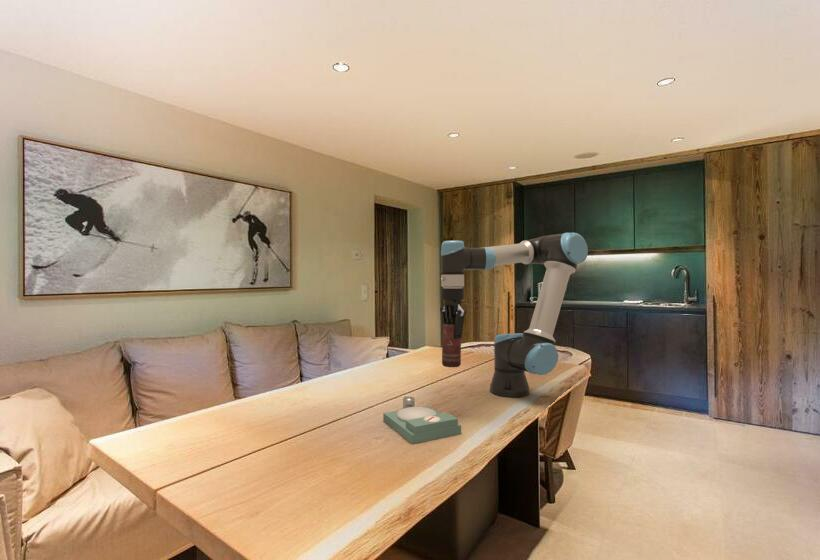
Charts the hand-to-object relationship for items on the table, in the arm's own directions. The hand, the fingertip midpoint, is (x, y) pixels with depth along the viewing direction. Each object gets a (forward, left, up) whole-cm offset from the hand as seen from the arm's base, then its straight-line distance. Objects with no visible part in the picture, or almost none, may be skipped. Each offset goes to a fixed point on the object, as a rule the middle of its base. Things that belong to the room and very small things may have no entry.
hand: (452, 359), depth 134 cm
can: (0, 0, -2) cm, 2 cm away
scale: (+15, +5, -18) cm, 24 cm away
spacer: (+11, -11, -18) cm, 24 cm away
